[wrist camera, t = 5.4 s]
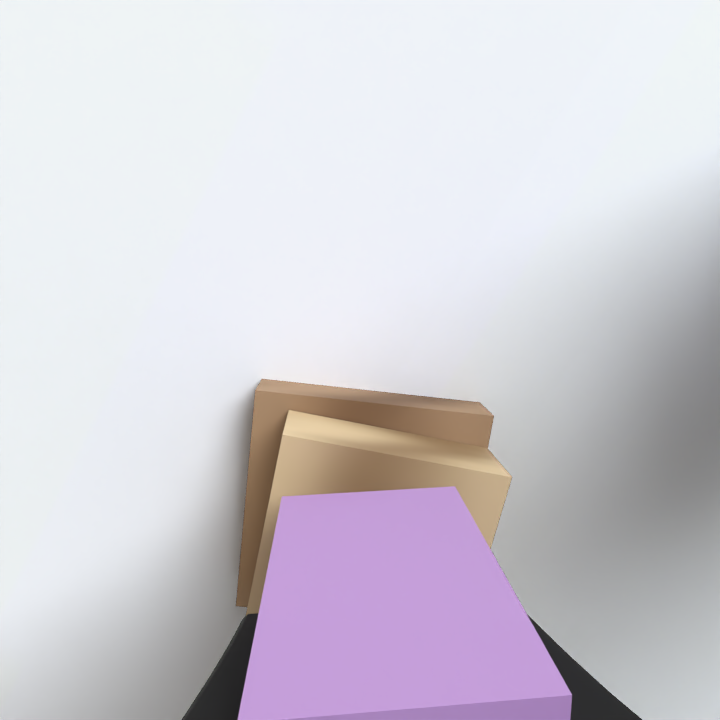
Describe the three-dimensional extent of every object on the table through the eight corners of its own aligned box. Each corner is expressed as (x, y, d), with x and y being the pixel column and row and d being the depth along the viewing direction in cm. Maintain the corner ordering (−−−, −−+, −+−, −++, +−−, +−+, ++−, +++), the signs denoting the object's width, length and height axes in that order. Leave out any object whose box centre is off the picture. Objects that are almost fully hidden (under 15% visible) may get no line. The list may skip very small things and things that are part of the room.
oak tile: (487, 448, 14) (512, 477, 12) (437, 620, 16) (453, 672, 14) (288, 409, 14) (282, 434, 12) (251, 592, 15) (240, 642, 13)
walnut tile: (474, 397, 16) (493, 415, 14) (440, 581, 18) (454, 621, 16) (264, 373, 16) (255, 390, 14) (246, 566, 17) (236, 606, 15)
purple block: (455, 486, 11) (572, 694, 6) (453, 634, 12) (554, 938, 7) (281, 496, 11) (236, 723, 6) (292, 647, 12) (261, 971, 6)
